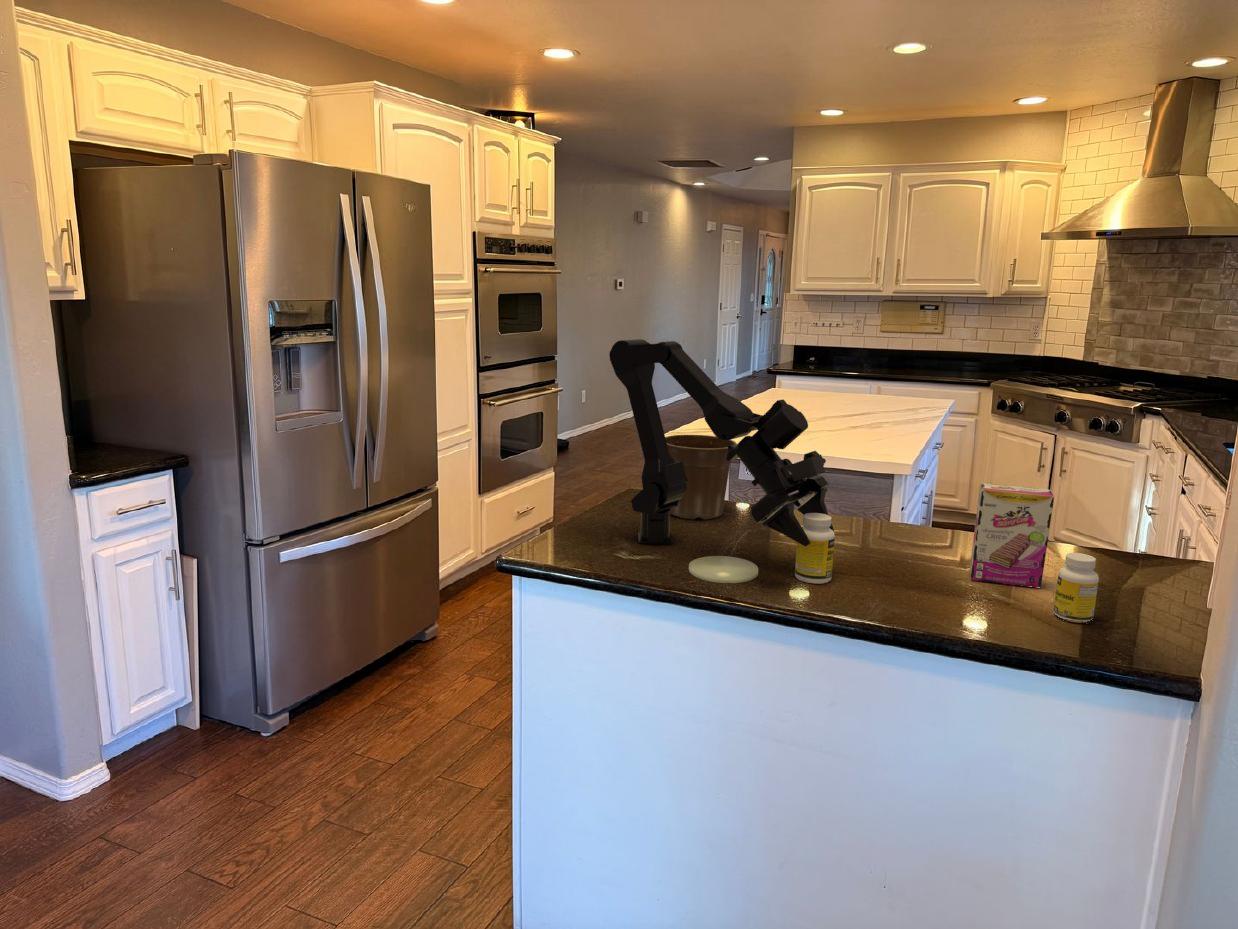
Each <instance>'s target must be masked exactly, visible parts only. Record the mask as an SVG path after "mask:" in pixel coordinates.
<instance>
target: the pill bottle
mask: <svg viewBox="0 0 1238 929" xmlns="http://www.w3.org/2000/svg"><path fill="white" fill-rule="evenodd" d="M831 523H832V516H830V515H829V514H828V515H826V514H821V513H807V514H804V515H803V514H802V524H803V526H801V527H802V528H803V530H804V532H805V533H806V535H807V537H808V539H809V541H810V544H809V545H807V546H803V545H801V544H800V543H798V542H796V552H795V567H794V576H795V578H796V579H797V580H799V581H801V582H804V583H809V584H815V585H816V584H817V585H818V584H819V585H821V584H827V583H828V582H830V581H831V580H832V576H833V568H834V567H833V565H834V554H835V553H834V551H835V550H834V549H835V541H836V540H835V539H836V537H835V536H836V534H835V532H833V530H831V529H830V528H829V527H830V526H831Z"/></svg>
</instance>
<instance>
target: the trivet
mask: <svg viewBox="0 0 1238 929" xmlns="http://www.w3.org/2000/svg"><path fill="white" fill-rule="evenodd" d="M688 572H689V574H691V575H692V576H693V577H695V578H697V579H700V580H703V581H706V582H710V583H711V582H712V583H720V584H740V583H746V582H750V581H752V580H754V579H756V578H757V577H758V576H759V568H758V566H757V565H756V563H754V562H752V561H750V560H747V559H745V558H740V557H734V556H727V555H726V556H725V555H710V556H709V555H708V556H703V557H698V558H695V559H692V560H691V561H690V562H689V564H688Z"/></svg>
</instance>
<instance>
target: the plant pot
mask: <svg viewBox="0 0 1238 929" xmlns="http://www.w3.org/2000/svg"><path fill="white" fill-rule="evenodd" d="M665 438H666V442H667V446H668V450H669V454H670V456H671V457H672V458H673V460H674V461H675V462H676V463H677V462H681V461H682V462H683V464H684V471H685V475H686V477H687V479H688V482H686V485H687V490H686V492H685V494H684V496H683V497H682V498H681V499H680V501H679V504H678V506H677V507H673V508H670V516H674V517H676V516H677V517H676V518H679V517H680V519H688V520H696V519H697V518H700V519H701V520H703V521H704V520H714V519H716V518H719V517H721V516H722V515H723V513H724V505H725V499H726V494H727V493H726V491H727V486H728V479H729V474H730V466H731V464H732V461H733V460H731V461H727V460H726V458H727V453H728V446H729V445H733V444H736V445H737V444H738V442H736V441H735V440H734V439H731V440H721V439H719V438H717V437H716V436H715V435H707V434H674V435H668V436H665ZM713 518H714V519H713Z"/></svg>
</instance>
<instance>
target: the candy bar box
mask: <svg viewBox="0 0 1238 929" xmlns="http://www.w3.org/2000/svg"><path fill="white" fill-rule="evenodd" d="M979 485H980V486H979V491H978V499H977V500H978V502H977V507H976V515H975V522H974V523H975V524H974V532H973V541H972V549H971V555H970V556H971V557H970V564H969V575H970V580H971V581H977V582H982V583H983V582H985V583H990V582H992V584H998V583H1005V584H1004V585H1006V584H1013V585H1012V586H1014V585H1023V586H1032V587H1041V588H1042V584H1043V583H1042V582H1043V575H1044V568H1045V562H1046V554H1047V549H1048V543H1049V534H1050V528H1051V521H1052V513H1053V509H1054V500H1055V494H1053V493H1052V490H1051V489H1047V488H1046V489H1045V488H1035V487H1025V486H1015V485H1007V484H1006V485H1004V484H994V483H986V482H984V483H983V482H982V483H980V484H979Z"/></svg>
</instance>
